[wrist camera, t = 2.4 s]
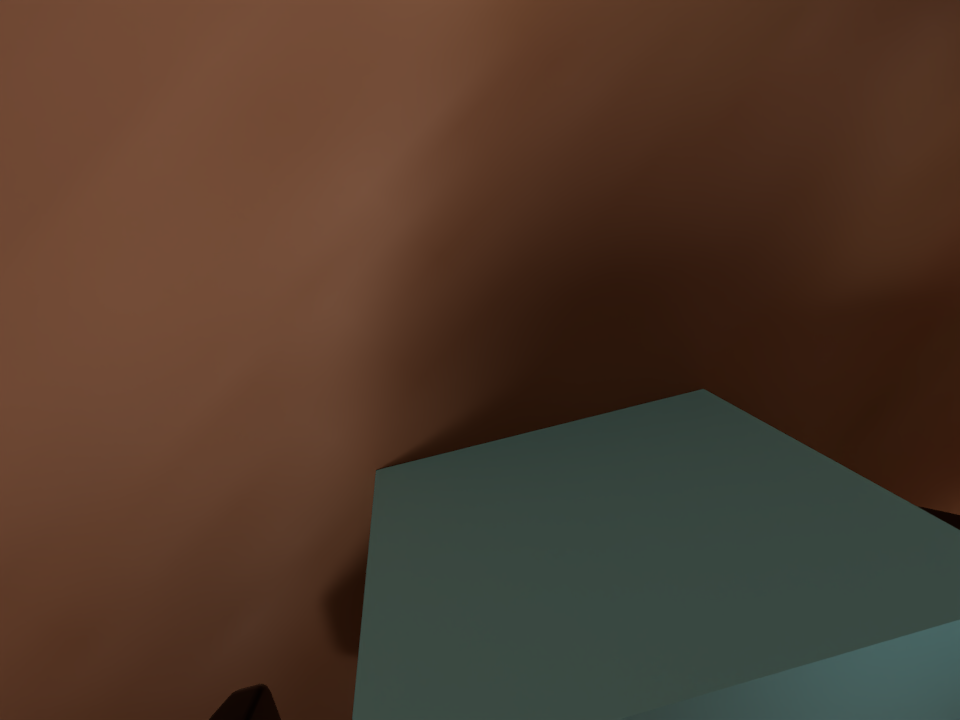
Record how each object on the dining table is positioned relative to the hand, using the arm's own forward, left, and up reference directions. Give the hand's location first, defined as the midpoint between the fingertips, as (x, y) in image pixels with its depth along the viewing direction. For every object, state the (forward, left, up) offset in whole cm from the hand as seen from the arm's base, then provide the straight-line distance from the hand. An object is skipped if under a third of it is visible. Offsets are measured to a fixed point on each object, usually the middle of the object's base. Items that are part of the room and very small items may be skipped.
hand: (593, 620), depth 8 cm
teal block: (0, 0, -1) cm, 1 cm away
